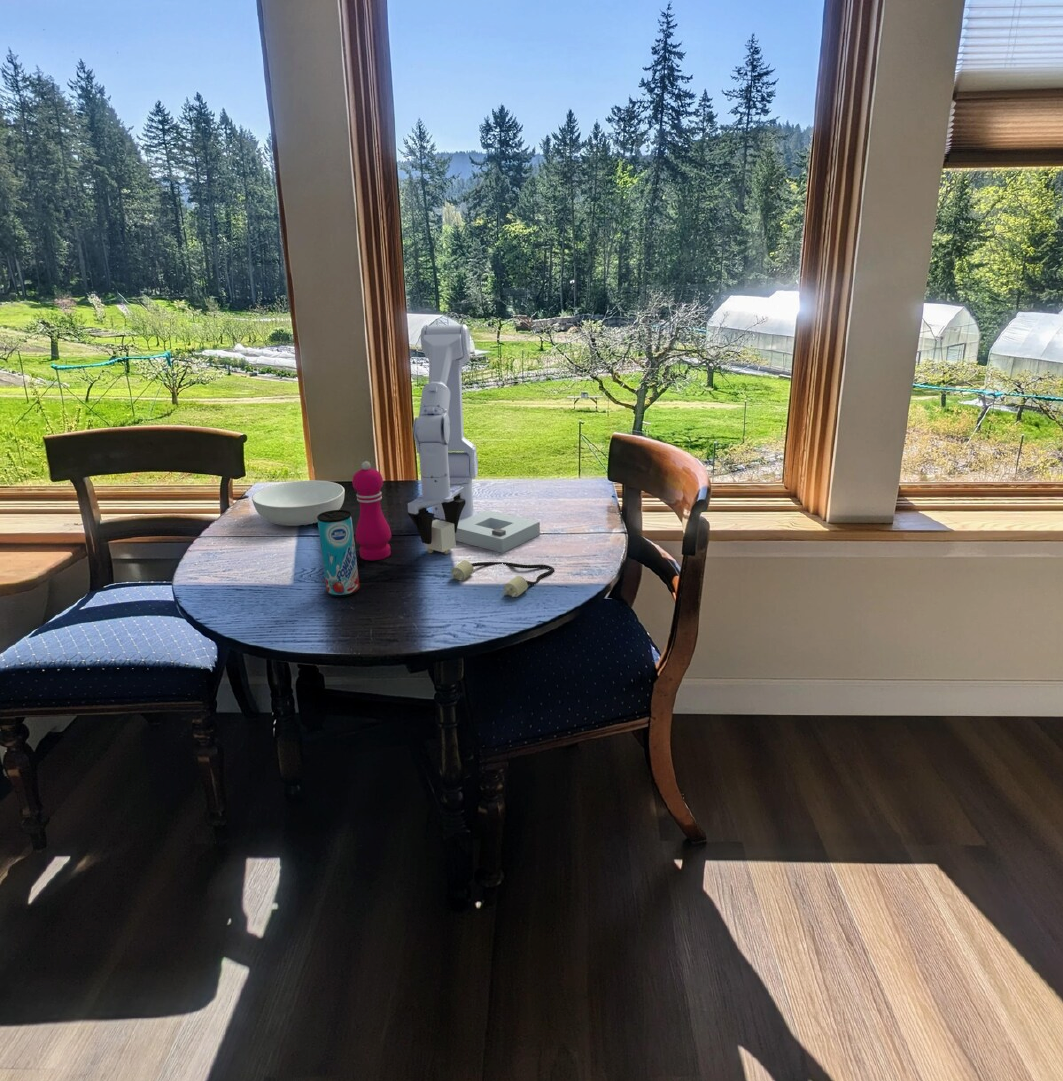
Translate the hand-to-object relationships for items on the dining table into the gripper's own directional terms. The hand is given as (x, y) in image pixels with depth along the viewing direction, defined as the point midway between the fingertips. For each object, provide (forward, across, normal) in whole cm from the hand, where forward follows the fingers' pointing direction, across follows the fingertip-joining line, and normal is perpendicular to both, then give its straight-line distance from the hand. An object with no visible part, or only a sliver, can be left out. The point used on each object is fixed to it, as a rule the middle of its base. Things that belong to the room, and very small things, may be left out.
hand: (439, 537), depth 156 cm
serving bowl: (+3, -3, +42) cm, 42 cm away
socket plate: (+3, +13, -4) cm, 14 cm away
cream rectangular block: (+3, 0, 0) cm, 3 cm away
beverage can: (+3, -25, +1) cm, 25 cm away
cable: (+4, -3, -19) cm, 20 cm away
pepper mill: (+3, -9, +10) cm, 14 cm away
